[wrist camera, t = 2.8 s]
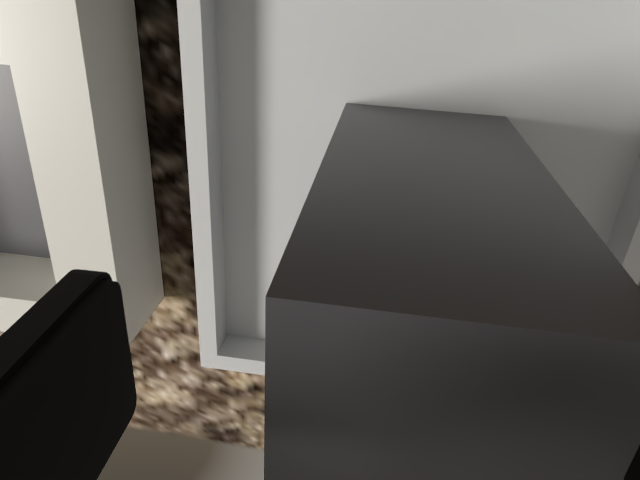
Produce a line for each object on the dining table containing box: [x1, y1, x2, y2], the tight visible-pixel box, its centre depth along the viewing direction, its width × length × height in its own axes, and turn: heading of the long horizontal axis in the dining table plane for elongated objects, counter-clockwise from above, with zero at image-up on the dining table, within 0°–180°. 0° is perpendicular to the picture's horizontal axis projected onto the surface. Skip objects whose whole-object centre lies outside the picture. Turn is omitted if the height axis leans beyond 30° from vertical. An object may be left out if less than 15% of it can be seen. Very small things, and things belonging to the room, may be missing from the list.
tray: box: [177, 0, 640, 375], centre depth 15 cm, size 13×13×2 cm
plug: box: [264, 103, 640, 480], centre depth 11 cm, size 4×6×10 cm
